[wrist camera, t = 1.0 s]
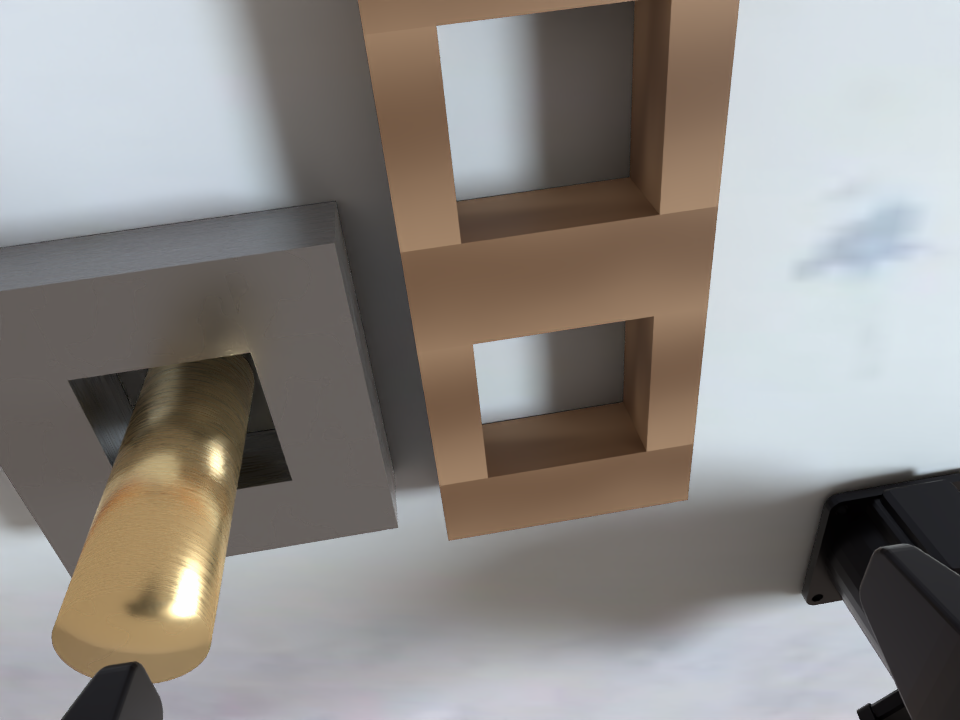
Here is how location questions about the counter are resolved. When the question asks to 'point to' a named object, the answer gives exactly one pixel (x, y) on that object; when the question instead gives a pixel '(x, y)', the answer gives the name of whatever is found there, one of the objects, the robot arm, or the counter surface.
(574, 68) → the counter surface
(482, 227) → the rack
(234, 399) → the peg
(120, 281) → the socket block
